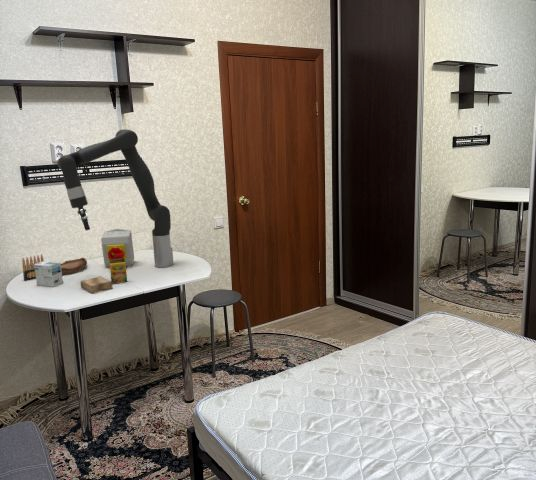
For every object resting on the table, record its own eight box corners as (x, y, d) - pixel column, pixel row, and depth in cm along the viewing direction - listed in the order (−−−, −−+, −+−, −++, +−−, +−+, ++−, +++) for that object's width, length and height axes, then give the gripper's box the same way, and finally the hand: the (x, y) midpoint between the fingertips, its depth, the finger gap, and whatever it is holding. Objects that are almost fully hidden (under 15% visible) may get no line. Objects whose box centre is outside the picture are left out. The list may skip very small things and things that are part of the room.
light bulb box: (63, 283, 246) (61, 261, 243) (53, 287, 239) (51, 265, 237) (46, 281, 249) (43, 260, 247) (36, 285, 243) (33, 264, 240)
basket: (71, 263, 283) (69, 254, 282) (96, 267, 274) (95, 258, 272) (36, 274, 263) (35, 265, 262) (63, 278, 254) (62, 269, 253)
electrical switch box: (103, 273, 267) (98, 239, 259) (108, 262, 281) (103, 229, 273) (131, 272, 269) (127, 237, 261) (134, 261, 282) (130, 228, 275)
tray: (101, 283, 243) (100, 276, 242) (112, 288, 235) (111, 281, 234) (81, 288, 237) (80, 280, 236) (92, 293, 228) (91, 286, 227)
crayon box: (111, 284, 241) (109, 260, 239) (111, 282, 244) (108, 259, 241) (127, 281, 244) (125, 258, 242) (126, 280, 247) (124, 257, 244)
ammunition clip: (45, 275, 259) (42, 253, 256) (46, 276, 257) (43, 254, 255) (23, 280, 252) (20, 257, 249) (24, 281, 251) (21, 258, 248)
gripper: (85, 195, 232) (96, 228, 235) (84, 194, 245) (94, 226, 249) (69, 199, 230) (80, 232, 233) (69, 198, 243) (79, 230, 246)
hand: (87, 229), depth 241 cm, fingers open, 8 cm apart
